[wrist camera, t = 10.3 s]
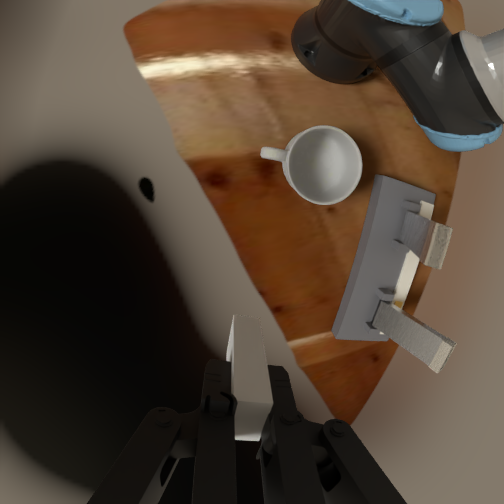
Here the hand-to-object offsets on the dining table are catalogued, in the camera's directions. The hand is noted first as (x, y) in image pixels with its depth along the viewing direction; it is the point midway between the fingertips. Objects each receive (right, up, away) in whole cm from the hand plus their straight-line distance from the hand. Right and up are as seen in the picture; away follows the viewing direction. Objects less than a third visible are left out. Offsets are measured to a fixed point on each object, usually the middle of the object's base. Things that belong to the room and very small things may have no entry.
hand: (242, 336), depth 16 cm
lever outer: (+23, -6, +30) cm, 39 cm away
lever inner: (+26, +9, +26) cm, 38 cm away
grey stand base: (+24, +3, +32) cm, 41 cm away
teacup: (+8, +19, +27) cm, 34 cm away
